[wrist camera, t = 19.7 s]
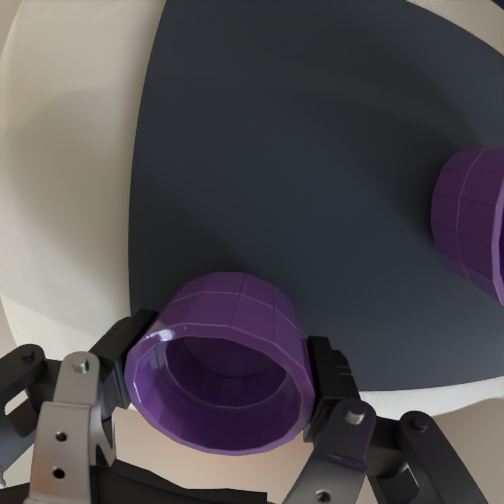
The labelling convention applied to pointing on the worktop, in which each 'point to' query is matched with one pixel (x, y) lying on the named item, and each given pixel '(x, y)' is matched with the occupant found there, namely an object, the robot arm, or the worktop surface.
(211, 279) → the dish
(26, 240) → the worktop surface
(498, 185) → the purple hollow cup
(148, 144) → the mat
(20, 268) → the worktop surface
